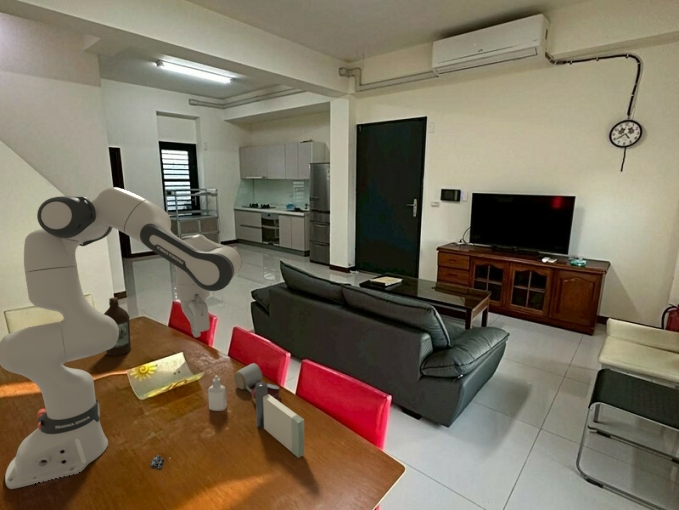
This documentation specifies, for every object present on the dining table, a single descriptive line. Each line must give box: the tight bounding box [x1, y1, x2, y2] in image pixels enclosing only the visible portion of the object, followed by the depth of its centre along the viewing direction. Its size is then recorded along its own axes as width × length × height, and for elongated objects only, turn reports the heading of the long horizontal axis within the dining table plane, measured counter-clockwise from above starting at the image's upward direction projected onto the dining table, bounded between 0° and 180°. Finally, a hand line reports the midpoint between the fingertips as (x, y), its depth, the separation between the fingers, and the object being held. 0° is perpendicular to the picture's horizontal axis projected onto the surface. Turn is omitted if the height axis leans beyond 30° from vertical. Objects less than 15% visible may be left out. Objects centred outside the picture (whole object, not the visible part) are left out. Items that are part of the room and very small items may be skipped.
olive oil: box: [103, 297, 132, 357], centre depth 163 cm, size 11×11×25 cm
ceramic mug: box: [233, 362, 263, 394], centre depth 137 cm, size 11×8×8 cm
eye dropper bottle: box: [207, 375, 228, 412], centre depth 124 cm, size 4×6×12 cm
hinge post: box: [254, 381, 268, 430], centre depth 115 cm, size 4×4×14 cm
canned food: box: [251, 380, 281, 406], centre depth 130 cm, size 11×10×10 cm
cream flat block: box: [263, 394, 305, 459], centre depth 108 cm, size 17×2×11 cm, turn 45°
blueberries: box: [150, 454, 171, 470], centre depth 101 cm, size 7×8×2 cm
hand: (196, 335), depth 109 cm, fingers closed
